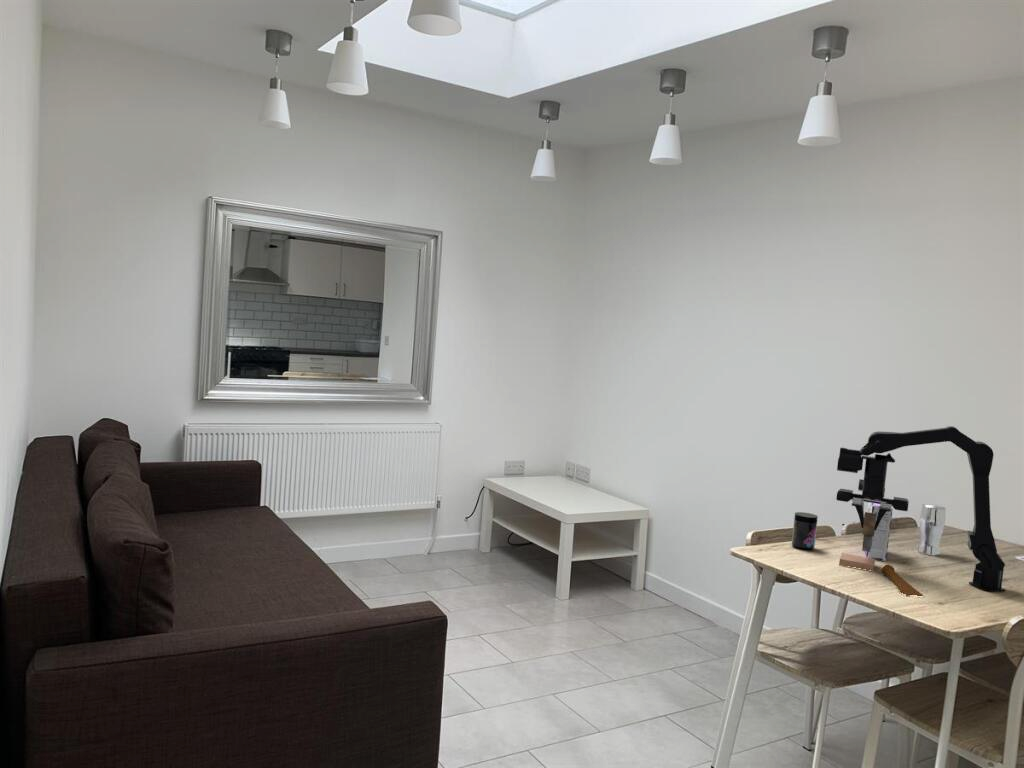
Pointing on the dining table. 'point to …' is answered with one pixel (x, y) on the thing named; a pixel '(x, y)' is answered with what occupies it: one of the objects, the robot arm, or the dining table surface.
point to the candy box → (880, 534)
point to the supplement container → (804, 531)
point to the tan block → (857, 561)
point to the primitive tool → (899, 581)
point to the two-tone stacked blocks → (868, 530)
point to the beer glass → (931, 529)
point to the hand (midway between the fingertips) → (868, 529)
